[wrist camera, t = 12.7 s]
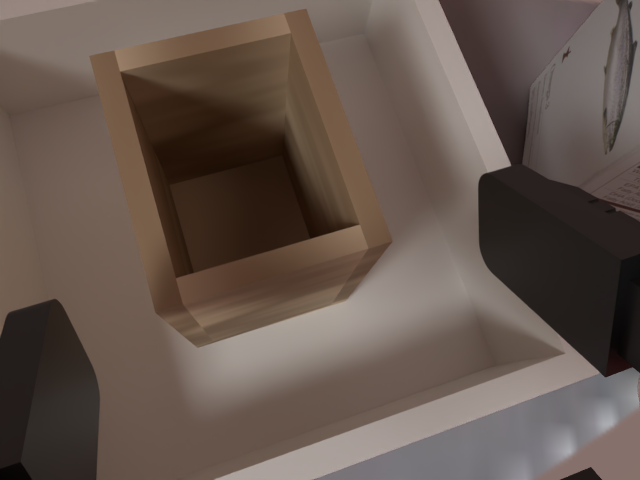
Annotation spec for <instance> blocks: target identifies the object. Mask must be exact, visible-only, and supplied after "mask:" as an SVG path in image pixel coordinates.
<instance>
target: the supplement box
mask: <svg viewBox="0 0 640 480" xmlns="http://www.w3.org/2000/svg"><path fill="white" fill-rule="evenodd" d="M522 164H523V165H525V166H527V167H528V168H530V169H532V170H534V171H535V172H537V173H539V174H540V175H542V176H544V177H546V178H547V179H549V180H554V181H557V182H561V183H565V184H569V185H572V186H576V187H579V188H581V189H582V190H584V191H586V192H588V193H590V194H591V195H593V196H595V197H597V198H598V199H599V202H600V201H604V202H606V203H608V204H609V205H611V206H613V207H615V208H616V211H622V212H624V213H625V214H627V215H629V216H631V217H633V218H634V219H636V220H638V221H640V0H603V1H602V2H601V3H600V4H599V5H598V7H597V8H596V9H595V10H594V11H593V12H592V14H591V15H590V16H589V17H588V18H587V20H586V21H585V22H584V23H583V24H582V25H581V27H580V28H579V29H578V30H577V31H576V32H575V34H574V35H573V36H572V37H571V38H570V39H569V41H568V42H567V43H566V44H565V45H564V47H563V48H562V49H561V50H560V51H559V52H558V54H557V55H556V56H555V57H554V58H553V59H552V61H551V62H550V63H549V64H548V65H547V67H546V68H545V69H544V70H543V72H542V73H541V74H540V75H539V76H538V78H537V79H536V80H535V81H534V82H533V84H532V85H531V86H530V96H529V109H528V120H527V129H526V139H525V146H524V153H523V161H522Z"/></svg>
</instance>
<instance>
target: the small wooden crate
mask: <svg viewBox="0 0 640 480" xmlns="http://www.w3.org/2000/svg"><path fill="white" fill-rule="evenodd" d="M89 57H90V61H91V65H92V69H93V73H94V77H95V80H96V84H97V88H98V92H99V96H100V100H101V104H102V108H103V112H104V115H105V119H106V123H107V127H108V131H109V135H110V139H111V143H112V147H113V150H114V154H115V158H116V162H117V166H118V170H119V174H120V178H121V182H122V185H123V189H124V193H125V197H126V201H127V205H128V209H129V213H130V217H131V220H132V224H133V228H134V232H135V236H136V240H137V244H138V248H139V252H140V255H141V259H142V263H143V267H144V271H145V275H146V279H147V283H148V287H149V290H150V294H151V298H152V302H153V306H154V310H155V313H156V314H157V315H159V316H160V317H161V318H162V319H163V320H165V321H166V322H167V323H168V324H169V325H171V326H172V327H173V328H174V329H175V330H177V331H178V332H179V333H180V334H181V335H183V336H184V337H185V338H186V339H187V340H189V341H190V342H191V343H192V344H193V345H195V346H196V347H197V348H199V347H202V346H205V345H208V344H212V343H215V342H218V341H221V340H224V339H227V338H231V337H234V336H237V335H240V334H243V333H246V332H250V331H253V330H256V329H259V328H262V327H265V326H269V325H272V324H275V323H278V322H281V321H285V320H288V319H291V318H294V317H297V316H300V315H304V314H307V313H310V312H313V311H316V310H319V309H323V308H326V307H329V306H332V305H335V304H338V303H342V302H345V301H346V300H347V299H348V298H349V296H350V295H351V294H352V292H353V291H354V290H355V289H356V287H357V286H358V285H359V284H360V282H361V281H362V280H363V278H364V277H365V276H366V275H367V273H368V272H369V271H370V270H371V268H372V267H373V266H374V264H375V263H376V262H377V261H378V259H379V258H380V257H381V256H382V254H383V253H384V252H385V250H386V249H387V248H388V247H389V245H390V244H391V243H392V242H393V241H392V238H391V235H390V232H389V230H388V227H387V224H386V222H385V219H384V216H383V214H382V211H381V208H380V206H379V203H378V200H377V198H376V195H375V192H374V189H373V187H372V184H371V181H370V179H369V176H368V173H367V171H366V168H365V165H364V163H363V160H362V157H361V154H360V152H359V149H358V146H357V144H356V141H355V138H354V136H353V133H352V130H351V128H350V125H349V122H348V120H347V117H346V114H345V111H344V109H343V106H342V103H341V101H340V98H339V95H338V93H337V90H336V87H335V85H334V82H333V79H332V76H331V74H330V71H329V68H328V66H327V63H326V60H325V58H324V55H323V52H322V50H321V47H320V44H319V42H318V39H317V36H316V33H315V31H314V28H313V25H312V23H311V20H310V17H309V15H308V12H307V9H302V10H297V11H292V12H288V13H283V14H279V15H274V16H270V17H265V18H260V19H256V20H251V21H247V22H242V23H237V24H233V25H228V26H224V27H219V28H215V29H210V30H205V31H201V32H196V33H192V34H187V35H182V36H178V37H173V38H169V39H164V40H160V41H155V42H150V43H146V44H141V45H137V46H132V47H128V48H123V49H118V50H114V51H109V52H105V53H100V54H95V55H91V56H89Z"/></svg>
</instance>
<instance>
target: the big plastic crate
mask: <svg viewBox="0 0 640 480" xmlns="http://www.w3.org/2000/svg"><path fill="white" fill-rule="evenodd" d="M302 9H307V12H308V15H309V17H310V20H311V23H312V25H313V28H314V31H315V33H316V36H317V39H318V42H319V44H320V47H321V50H322V52H323V55H324V58H325V60H326V63H327V66H328V68H329V71H330V74H331V76H332V79H333V82H334V85H335V87H336V90H337V93H338V95H339V98H340V101H341V103H342V106H343V109H344V111H345V114H346V117H347V120H348V122H349V125H350V128H351V130H352V133H353V136H354V138H355V141H356V144H357V146H358V149H359V152H360V154H361V157H362V160H363V163H364V165H365V168H366V171H367V173H368V176H369V179H370V181H371V184H372V187H373V189H374V192H375V195H376V198H377V200H378V203H379V206H380V208H381V211H382V214H383V216H384V219H385V222H386V224H387V227H388V230H389V232H390V235H391V238H392V241H393V242H392V243H391V244H390V245H389V247H388V248H387V249H386V250H385V252H384V253H383V254H382V256H381V257H380V258H379V259H378V261H377V262H376V263H375V264H374V266H373V267H372V268H371V270H370V271H369V272H368V273H367V275H366V276H365V277H364V278H363V280H362V281H361V282H360V284H359V285H358V286H357V287H356V289H355V290H354V291H353V292H352V294H351V295H350V296H349V298H348V299H347V300H346V301H345V302H342V303H338V304H335V305H332V306H329V307H326V308H323V309H319V310H316V311H313V312H310V313H307V314H304V315H300V316H297V317H294V318H291V319H288V320H285V321H281V322H278V323H275V324H272V325H269V326H265V327H262V328H259V329H256V330H253V331H250V332H246V333H243V334H240V335H237V336H234V337H231V338H227V339H224V340H221V341H218V342H215V343H212V344H208V345H205V346H202V347H199V348H197V347H196V346H195V345H193V344H192V343H191V342H190V341H189V340H187V339H186V338H185V337H184V336H183V335H181V334H180V333H179V332H178V331H177V330H175V329H174V328H173V327H172V326H171V325H169V324H168V323H167V322H166V321H165V320H163V319H162V318H161V317H160V316H159V315H157V314H156V313H155V310H154V306H153V302H152V298H151V294H150V290H149V287H148V283H147V279H146V275H145V271H144V267H143V263H142V259H141V255H140V252H139V248H138V244H137V240H136V236H135V232H134V228H133V224H132V220H131V217H130V213H129V209H128V205H127V201H126V197H125V193H124V189H123V185H122V182H121V178H120V174H119V170H118V166H117V162H116V158H115V154H114V150H113V147H112V143H111V139H110V135H109V131H108V127H107V123H106V119H105V115H104V112H103V108H102V104H101V100H100V96H99V92H98V88H97V84H96V80H95V77H94V73H93V69H92V65H91V61H90V57H89V56H91V55H95V54H100V53H105V52H109V51H114V50H118V49H123V48H128V47H132V46H137V45H141V44H146V43H150V42H155V41H160V40H164V39H169V38H173V37H178V36H182V35H187V34H192V33H196V32H201V31H205V30H210V29H215V28H219V27H224V26H228V25H233V24H237V23H242V22H247V21H251V20H256V19H260V18H265V17H270V16H274V15H279V14H283V13H288V12H292V11H297V10H302ZM509 166H511V163H510V161H509V159H508V157H507V154H506V152H505V150H504V148H503V145H502V143H501V141H500V139H499V136H498V134H497V132H496V129H495V127H494V125H493V123H492V120H491V118H490V116H489V114H488V111H487V109H486V107H485V105H484V102H483V100H482V98H481V95H480V93H479V91H478V89H477V86H476V84H475V82H474V80H473V77H472V75H471V73H470V71H469V68H468V66H467V64H466V61H465V59H464V57H463V55H462V52H461V50H460V48H459V46H458V43H457V41H456V39H455V37H454V34H453V32H452V30H451V27H450V25H449V23H448V21H447V18H446V16H445V14H444V12H443V9H442V7H441V5H440V3H439V0H0V336H1V333H2V329H3V326H4V323H5V319H6V316H7V314H8V313H9V312H11V311H14V310H18V309H21V308H25V307H28V306H31V305H35V304H38V303H42V302H45V301H48V300H52V299H57V300H58V301H59V302H60V303H61V304H62V306H63V307H64V309H65V311H66V313H67V315H68V317H69V319H70V321H71V323H72V325H73V327H74V329H75V331H76V333H77V335H78V337H79V339H80V341H81V343H82V345H83V347H84V350H85V352H86V354H87V356H88V358H89V360H90V362H91V364H92V366H93V368H94V371H95V374H96V377H97V381H98V386H99V392H100V411H99V432H98V454H97V475H96V480H313V479H316V478H318V477H321V476H324V475H326V474H329V473H332V472H335V471H337V470H340V469H343V468H345V467H348V466H351V465H353V464H356V463H359V462H362V461H364V460H367V459H370V458H372V457H375V456H378V455H380V454H383V453H386V452H389V451H391V450H394V449H397V448H399V447H402V446H405V445H407V444H410V443H413V442H416V441H418V440H421V439H424V438H426V437H429V436H432V435H435V434H437V433H440V432H443V431H445V430H448V429H451V428H453V427H456V426H459V425H462V424H464V423H467V422H470V421H472V420H475V419H478V418H480V417H483V416H486V415H489V414H491V413H494V412H497V411H499V410H502V409H505V408H507V407H510V406H513V405H516V404H518V403H521V402H524V401H526V400H529V399H532V398H534V397H537V396H540V395H543V394H545V393H548V392H551V391H553V390H556V389H559V388H562V387H564V386H567V385H570V384H572V383H575V382H578V381H580V380H583V379H586V378H589V377H591V376H594V375H597V374H599V373H600V372H599V371H598V370H597V369H596V368H595V367H594V366H592V365H591V364H590V363H589V362H588V361H587V360H586V359H585V358H584V357H583V356H582V355H580V354H579V353H578V352H577V351H576V350H575V349H574V348H573V347H572V346H571V345H570V344H569V343H567V342H566V341H565V340H564V339H563V338H562V337H561V336H560V335H559V334H558V333H557V332H555V331H554V330H553V329H552V328H551V327H550V326H549V325H548V324H547V323H546V322H545V321H544V320H542V319H541V318H540V317H539V316H538V315H537V314H536V313H535V312H534V311H533V310H532V309H530V308H529V307H528V306H527V305H526V304H525V303H524V302H523V301H522V300H521V299H520V298H519V297H517V296H516V295H515V294H514V293H513V292H512V291H511V290H510V289H509V288H508V287H507V286H506V285H504V284H503V283H502V282H501V281H500V280H499V279H498V278H497V277H496V276H495V275H494V274H492V272H491V271H490V270H489V269H488V268H487V266H486V264H485V262H484V260H483V258H482V255H481V252H480V247H479V218H478V183H479V179H480V177H481V176H482V175H483V174H485V173H488V172H492V171H495V170H498V169H502V168H505V167H509Z"/></svg>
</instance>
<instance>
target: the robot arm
mask: <svg viewBox="0 0 640 480" xmlns="http://www.w3.org/2000/svg"><path fill="white" fill-rule="evenodd" d="M478 218H479V247H480V252H481V255H482V258H483V260H484V262H485V264H486V266H487V268H488V269H489V270H490V271H491V272H492V274H494V275H495V276H496V277H497V278H498V279H499V280H500V281H501V282H502V283H503V284H504V285H506V286H507V287H508V288H509V289H510V290H511V291H512V292H513V293H514V294H515V295H516V296H517V297H519V298H520V299H521V300H522V301H523V302H524V303H525V304H526V305H527V306H528V307H529V308H530V309H532V310H533V311H534V312H535V313H536V314H537V315H538V316H539V317H540V318H541V319H542V320H544V321H545V322H546V323H547V324H548V325H549V326H550V327H551V328H552V329H553V330H554V331H555V332H557V333H558V334H559V335H560V336H561V337H562V338H563V339H564V340H565V341H566V342H567V343H569V344H570V345H571V346H572V347H573V348H574V349H575V350H576V351H577V352H578V353H579V354H580V355H582V356H583V357H584V358H585V359H586V360H587V361H588V362H589V363H590V364H591V365H592V366H594V367H595V368H596V369H597V370H598V371H599V372H600V373H601V374H602V375H603V376H604V377H608V376H611V375H613V374H616V373H618V372H621V371H624V370H626V369H629V368H632V367H633V368H634V369H636V370H637V371H638V372H639V373H640V221H638V220H636V219H634V218H633V217H631V216H629V215H627V214H625V213H624V212H622V211H616V208H615V207H613V206H611V205H609V204H608V203H606V202H604V201H600V202H599V199H598V198H597V197H595V196H593V195H591V194H590V193H588V192H586V191H584V190H582V189H581V188H579V187H576V186H572V185H569V184H565V183H561V182H557V181H554V180H549V179H547V178H546V177H544V176H542V175H540V174H539V173H537V172H535V171H534V170H532V169H530V168H528V167H527V166H525V165H523V164H515V165H512V166H509V167H505V168H502V169H498V170H495V171H492V172H488V173H485V174H483V175H482V176H481V177H480V179H479V183H478ZM638 397H639V405H640V375H639V381H638ZM99 411H100V392H99V386H98V381H97V377H96V374H95V371H94V368H93V366H92V364H91V362H90V360H89V358H88V356H87V354H86V352H85V350H84V347H83V345H82V343H81V341H80V339H79V337H78V335H77V333H76V331H75V329H74V327H73V325H72V323H71V321H70V319H69V317H68V315H67V313H66V311H65V309H64V307H63V306H62V304H61V303H60V302H59V301H58V300H57V299H52V300H48V301H45V302H42V303H38V304H35V305H31V306H28V307H25V308H21V309H18V310H14V311H11V312H9V313H8V314H7V316H6V319H5V323H4V326H3V329H2V333H1V336H0V480H96V475H97V454H98V432H99ZM561 480H602V479H601V478H600V477H599V476H598V475H597V474H596V472H595V471H594V470H593V469H592V468H591V467H590V468H588V469H585V470H583V471H580V472H578V473H576V474H573V475H570V476H568V477H566V478H563V479H561Z"/></svg>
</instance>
